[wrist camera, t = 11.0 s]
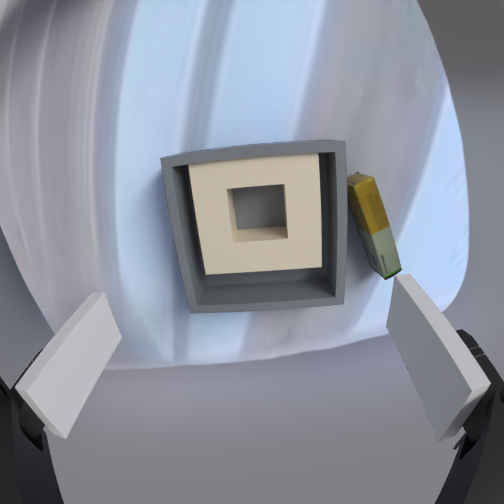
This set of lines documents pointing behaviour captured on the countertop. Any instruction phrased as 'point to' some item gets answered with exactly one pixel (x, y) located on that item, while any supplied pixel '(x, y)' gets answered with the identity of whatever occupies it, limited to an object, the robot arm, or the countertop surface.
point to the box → (260, 225)
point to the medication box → (373, 224)
